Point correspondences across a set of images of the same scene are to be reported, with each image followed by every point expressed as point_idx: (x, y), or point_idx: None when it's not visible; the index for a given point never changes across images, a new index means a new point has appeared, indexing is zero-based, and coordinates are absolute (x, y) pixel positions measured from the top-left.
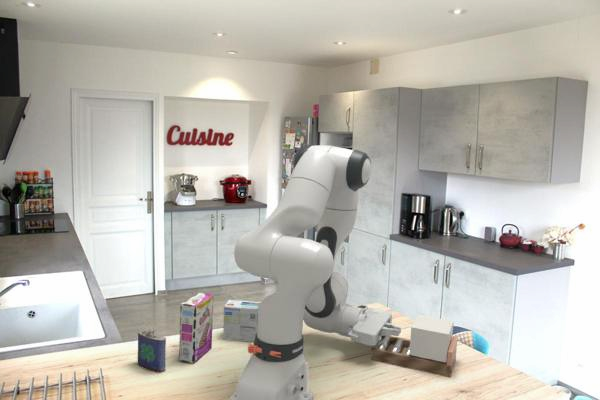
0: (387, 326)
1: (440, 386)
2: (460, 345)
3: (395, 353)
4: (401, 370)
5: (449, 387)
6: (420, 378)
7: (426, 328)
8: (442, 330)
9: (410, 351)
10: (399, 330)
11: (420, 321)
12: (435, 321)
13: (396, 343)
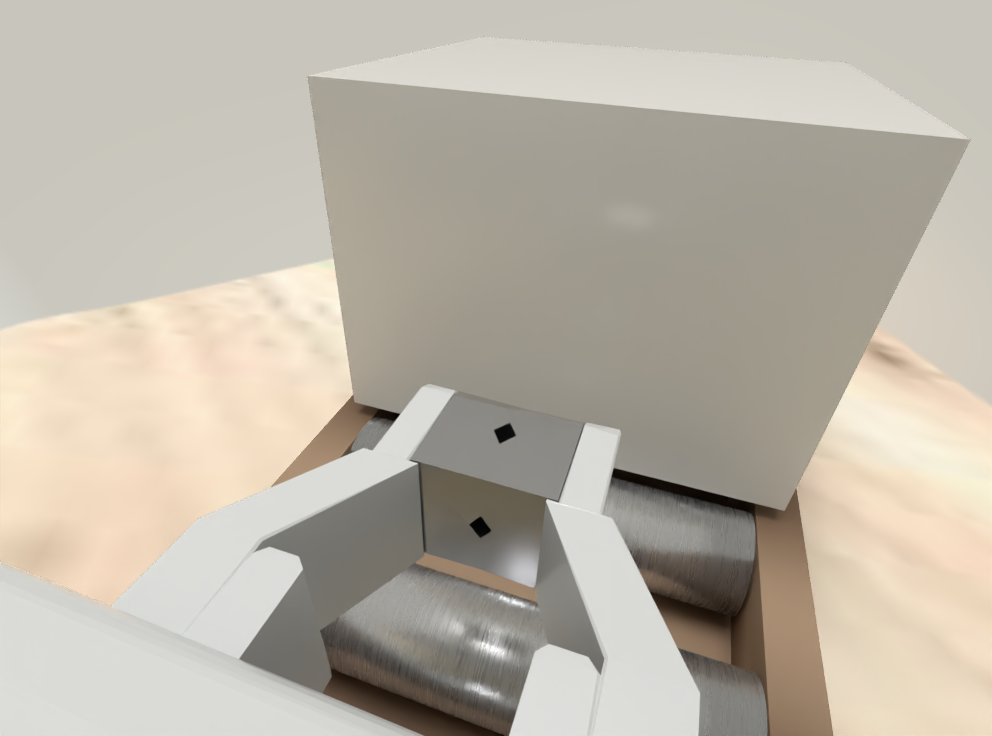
0: (284, 642)
1: (926, 433)
2: (275, 276)
3: (803, 687)
4: (868, 689)
5: (894, 396)
6: (908, 532)
7: (833, 91)
8: (775, 65)
9: (800, 470)
10: (559, 420)
11: (591, 89)
12: (532, 59)
13: (430, 625)
